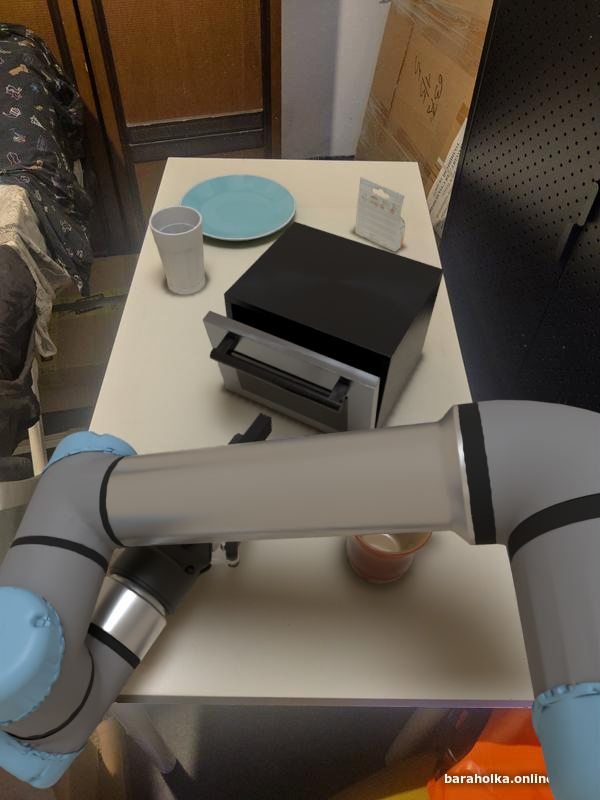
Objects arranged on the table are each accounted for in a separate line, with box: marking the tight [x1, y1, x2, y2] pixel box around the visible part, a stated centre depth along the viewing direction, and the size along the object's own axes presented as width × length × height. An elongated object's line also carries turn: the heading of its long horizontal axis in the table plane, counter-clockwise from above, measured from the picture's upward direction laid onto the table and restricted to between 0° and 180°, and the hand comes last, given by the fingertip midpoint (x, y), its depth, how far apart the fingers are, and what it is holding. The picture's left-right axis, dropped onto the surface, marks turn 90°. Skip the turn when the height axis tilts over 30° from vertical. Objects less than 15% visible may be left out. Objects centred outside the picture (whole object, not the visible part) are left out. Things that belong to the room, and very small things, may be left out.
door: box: [202, 310, 380, 434], centre depth 68 cm, size 5×22×16 cm, turn 62°
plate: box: [178, 173, 297, 242], centre depth 105 cm, size 22×22×3 cm
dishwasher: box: [223, 221, 445, 428], centre depth 75 cm, size 18×22×16 cm
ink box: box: [354, 177, 406, 253], centre depth 97 cm, size 3×9×12 cm, turn 50°
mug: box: [345, 532, 433, 585], centre depth 59 cm, size 12×9×10 cm
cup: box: [148, 205, 206, 295], centre depth 88 cm, size 8×8×12 cm
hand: (266, 422), depth 65 cm, fingers closed
